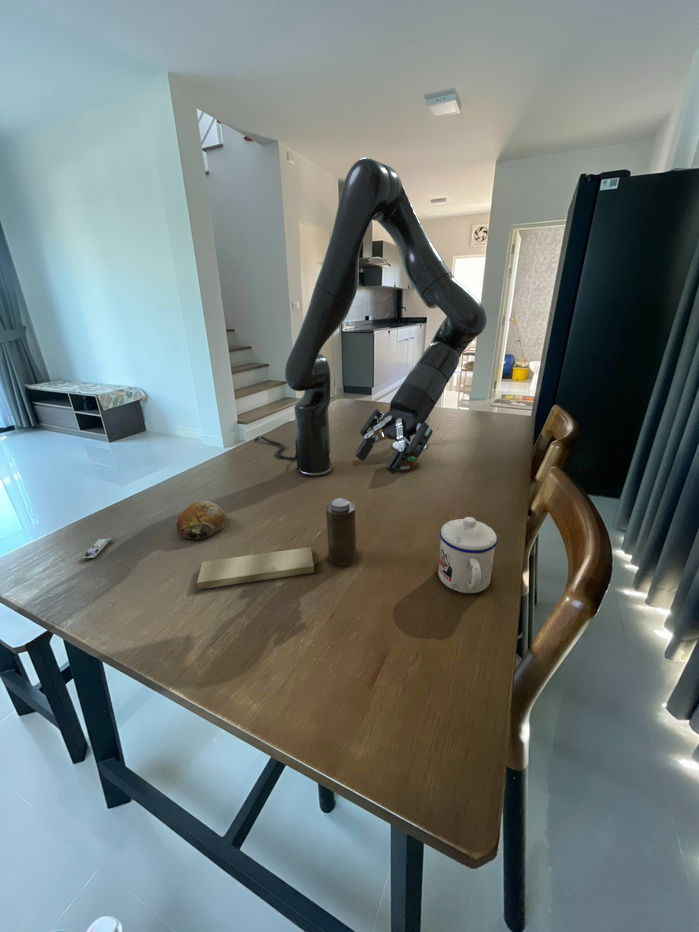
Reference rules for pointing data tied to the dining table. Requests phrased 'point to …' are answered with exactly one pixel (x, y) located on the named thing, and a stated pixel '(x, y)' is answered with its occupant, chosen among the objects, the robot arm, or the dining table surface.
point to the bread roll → (200, 520)
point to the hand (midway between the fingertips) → (373, 464)
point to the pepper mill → (341, 532)
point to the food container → (409, 462)
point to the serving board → (255, 568)
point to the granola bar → (96, 548)
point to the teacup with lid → (466, 555)
